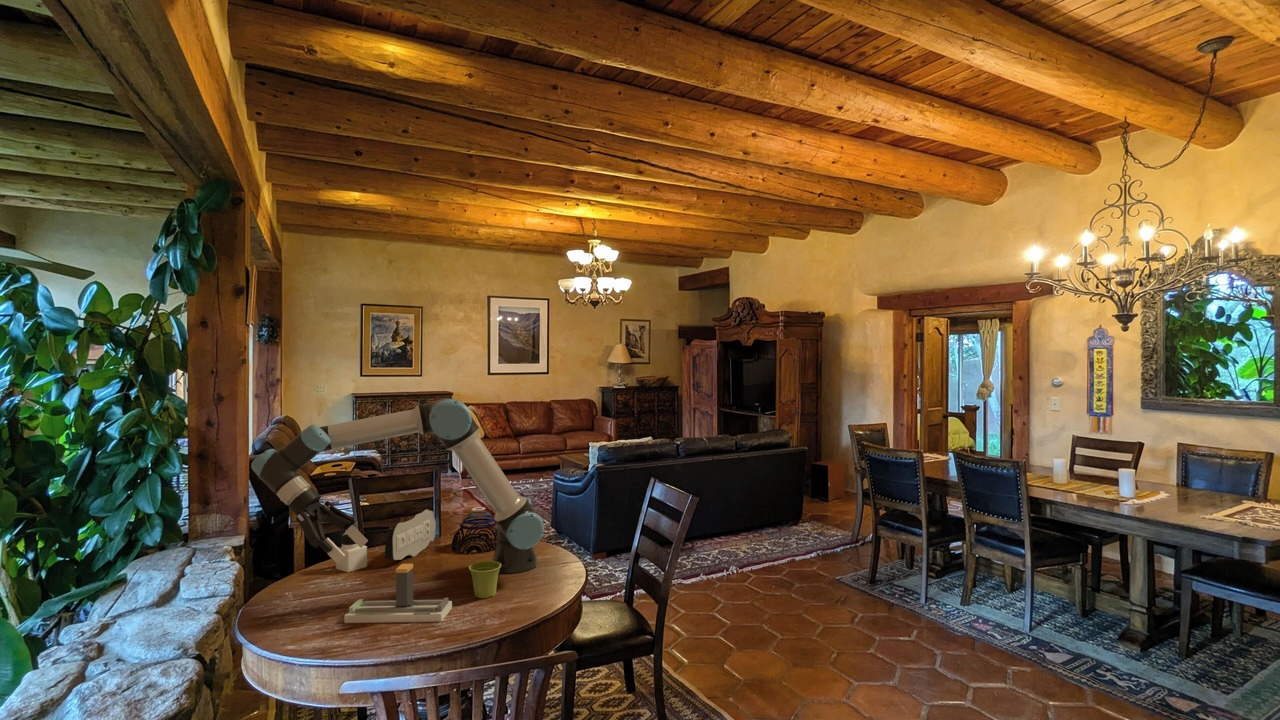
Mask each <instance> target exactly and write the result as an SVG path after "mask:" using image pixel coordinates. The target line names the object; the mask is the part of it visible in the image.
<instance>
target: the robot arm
mask: <svg viewBox="0 0 1280 720" xmlns="http://www.w3.org/2000/svg"><path fill="white" fill-rule="evenodd" d="M479 431H480V427H479V425H478V424H477V422H476V421H475V419H474V418H473V417H472V413H471V411H470V409H469V408H468V406H467V405H466V404H465V403H463V402H462V401H460V400H458V399H455V398H451V397H443V398H440V399H437V400H434V401H431V402H427V403H422V404H418V405H416V406H415V407H414V408H412V409H409V410H403V411H398V412H393V413H386V414H381V415H377V416H371V417H365V418H360V419H355V420H350V421H345V422H339V423H335V424H329V425H325V426H324V425H323V426H318V425H317V424H314V423H313V424H310V425H309V426H307V427H306V428H304V429H303V430H301V432H300V433H299V434H297V435H296V436H295V437H294V438H293V439H292V440H290V441H289V442H288V443H287V444H285V445H284V446H283V447H282V448H280V449H279V450H276V449H275V448H270V449H266V450H264V452H262V453H260V454H259V455H258V456H256V457H255V458H254V459H253V460H252V462H251V465H250V466H251V467H250V468H251V469H252V471H253V472H254V473H255V475H256V476H257V477H258V479H259V480H261V481H262V482H263V483H264V484H265V485H266V487H268V488H269V489H270V490H271V491H272V492H273V494H275V495H276V496H277V497H278V498H279V500H280V501H281V502H283V503H284V504H285V505H286V506H288V508H289V510H290V511H291V512H292V513H293V514H294V515H295V516H296V517H295V520H296V521H297V522H298V524H299V525H300V527H301V529H302V531H303V533H304V535H305V538H306V539H307V542H308V543H309V545H310V546H311V547H314V548H318V547H320V548H321V549H322V550H323V551H324V552H325V553H326V554H327V555H328V556H329V558H331V559H332V560H333V561H334V562H335V563H338V562H339V561H340V560H341V559H342V558H343V557H344V556H345V554H344V553H343V552H342V551H341V550H340V549H339V548H340V547H338V546H337V545H336V544H335V543H334V541H332V540H331V539H330V538H329V537H326V536H325V532H324V528H323V523H329V524H331V525H334V526H336V527H338V528H341V529H342V530H345V532H344V534H345V533H346V534H347V535H348V536H349V537H350V538H351V539H352V540H353V541H354V542H355V543H356V544H357V545H358V546H359V547H360V548H362V547H363V546H366V544H367V543H368V541H369V539H367V538H366V537H365V536H364V535H363V533H362V532H361V531H360V530H359V529H358V528H357V527H356V526H354V524H355V523H356V520H355V519H354V518H353V517H351V516H350V515H348V514H347V513H345V512H344V511H342V510H341V509H339V508H338V507H336V506H334V505H333V504H332V503H331V502H330V501H328V500H327V501H325V502H324V503H321V502H320V500H321V495H320V494H319V493H318V491H316V489H315V488H313V487H311V484H310V483H309V482H308V481H306V479H304V478H303V476H302V475H300V473H299V472H298V471H299V470H301V469H302V468H303V467H304V466H305V465H306V464H308V463H309V462H310V461H311V460H313V459H314V458H315V457H317V456H318V455H319V454H320V453H322V452H327V451H332V450H336V449H341V448H346V447H351V446H356V445H362V444H366V443H371V442H372V443H373V442H377V441H381V440H386V439H392V438H397V437H401V436H406V435H412V434H417V433H419V434H421V435H427V434H435V435H436V436H437V438H438V439H439V442H441V444H442V445H443V447H444V448H445V449H446V451H447V450H448V451H452V452H454V454H455V455H456V456H457V458H458V459H459V461H460V462H461V464H462V465H463V467H464V468H465V470H466V471H467V473H468V474H469V476H470V477H471V478H472V480H473V481H474V482H475V484H476V485H477V487H478V488H479V490H480V492H481V493H482V494H483V496H484V497H485V499H486V501H487V502H488V504H490V506H491V508H492V510H493V511H494V512H495V514H494V519H495V521H496V522H497V524H496V529H497V538H496V539H497V541H496V543H497V544H496V545H497V546H496V550H495V551H494V554H493V556H492V560H491V561H496V562H499V563H501V567H500V569H499V572H498V573H502V574H503V573H504V574H516V573H517V574H518V573H523V572H526V571H530V570H532V568H533V569H534V567H535V566H536V565H537V566H538V556H537V552H536V550H535V546H536V545H537V544H539V543H540V541H541V540H542V538H543V536H544V532H545V525H544V522H543V519H542V517H541V516H540V515H539V514H537V512H536V511H535V509H534V508H533V504H532V499H531V498H530V497H525V496H520V495H519V494H518V493H517V491H516V489H515V488H514V486H513V485H512V483H510V480H509V479H508V478H507V476H506V475H505V474H504V471H502V469H501V467H500V466H499V464H498V463H497V461H496V460H495V458H494V457H493V455H492V454H491V453H490V451H489V450H488V448H487V447H486V445H485V443H484V441H482V439H481V437H480V436H479V433H480V432H479ZM537 566H536V567H537ZM536 567H535V568H536Z"/></svg>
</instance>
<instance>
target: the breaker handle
mask: <svg viewBox="0 0 1280 720" xmlns="http://www.w3.org/2000/svg"><path fill="white" fill-rule="evenodd" d="M395 584H396V585H395V595H396V596H395V599H396V607H413V606H414V601H413V600H414V563H402V564H400V565H399V566H398V567H396V568H395Z"/></svg>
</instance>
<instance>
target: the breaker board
mask: <svg viewBox="0 0 1280 720" xmlns="http://www.w3.org/2000/svg"><path fill="white" fill-rule="evenodd" d="M413 601H414V606H413V607H396V600H390V599H389V600H364V599H363V598H359V599H358V600H356V601H355V602H354V603H353V604H352V605H350V606H349V607H348V612H347V613H345V614H344V621H343V622H344V624H352V623H353V624H360V623H361V624H367V623H368V624H369V623H372V624H373V623H375V624H376V623H424V622H425V623H427V622H429V623H430V622H431V623H432V622H435V623H436V622H443V620H444V619H445V617H446V616H447V615H448V614H449V612H451V610H452V609H453V602H452V600H449V597H444V598H443V599H413Z"/></svg>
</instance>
